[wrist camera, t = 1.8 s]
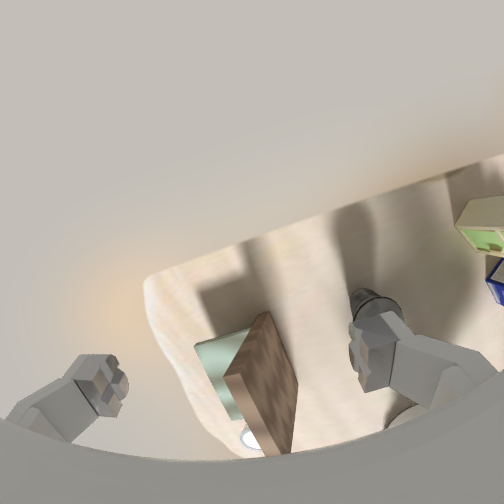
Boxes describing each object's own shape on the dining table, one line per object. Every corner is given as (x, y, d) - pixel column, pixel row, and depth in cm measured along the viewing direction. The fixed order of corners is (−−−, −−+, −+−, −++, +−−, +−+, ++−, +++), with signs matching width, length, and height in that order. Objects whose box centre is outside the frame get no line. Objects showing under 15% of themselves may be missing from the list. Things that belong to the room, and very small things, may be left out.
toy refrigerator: (451, 228, 40) (524, 231, 19) (468, 198, 39) (541, 188, 18) (474, 256, 39) (546, 272, 19) (490, 226, 38) (562, 230, 17)
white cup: (240, 413, 51) (232, 433, 44) (269, 403, 50) (263, 424, 43) (257, 434, 51) (251, 454, 44) (284, 425, 49) (281, 446, 43)
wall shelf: (298, 384, 48) (288, 467, 26) (241, 397, 51) (207, 473, 29) (269, 311, 48) (239, 373, 26) (209, 329, 50) (151, 389, 29)
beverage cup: (388, 289, 43) (436, 329, 24) (370, 326, 45) (403, 384, 25) (353, 273, 44) (384, 306, 25) (335, 311, 46) (351, 366, 26)
